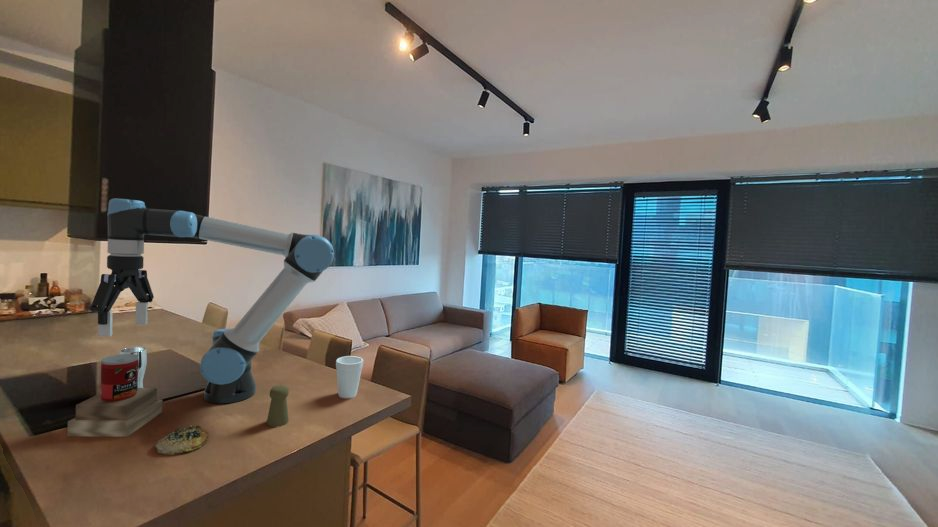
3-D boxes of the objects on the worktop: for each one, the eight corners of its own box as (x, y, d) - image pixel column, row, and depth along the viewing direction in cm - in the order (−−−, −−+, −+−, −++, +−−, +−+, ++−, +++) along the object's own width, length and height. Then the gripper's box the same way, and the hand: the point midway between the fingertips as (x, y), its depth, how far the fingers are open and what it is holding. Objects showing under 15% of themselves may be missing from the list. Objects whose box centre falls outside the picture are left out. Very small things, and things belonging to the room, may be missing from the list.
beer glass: (117, 399, 120) (118, 353, 119) (118, 392, 125) (119, 347, 124) (145, 395, 124) (147, 350, 123) (145, 387, 129) (147, 345, 129)
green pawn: (293, 420, 116) (295, 385, 115) (277, 428, 110) (279, 392, 110) (278, 415, 118) (279, 381, 117) (261, 423, 112) (263, 388, 112)
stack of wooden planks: (162, 412, 114) (163, 386, 114) (127, 436, 100) (127, 407, 100) (110, 411, 112) (111, 385, 112) (67, 436, 98) (68, 406, 98)
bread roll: (201, 428, 107) (202, 413, 106) (214, 450, 100) (214, 433, 99) (151, 444, 99) (151, 427, 98) (161, 468, 92) (161, 450, 91)
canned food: (115, 403, 101) (116, 364, 101) (92, 399, 103) (93, 359, 102) (144, 393, 109) (146, 356, 108) (123, 388, 110) (124, 352, 110)
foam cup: (364, 391, 142) (367, 357, 141) (354, 401, 132) (357, 365, 132) (340, 388, 142) (343, 354, 142) (329, 398, 133) (331, 362, 133)
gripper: (141, 252, 116) (140, 319, 117) (70, 256, 92) (69, 341, 93) (168, 253, 117) (167, 320, 119) (105, 258, 93) (104, 342, 94)
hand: (124, 329), depth 106 cm, fingers open, 13 cm apart
